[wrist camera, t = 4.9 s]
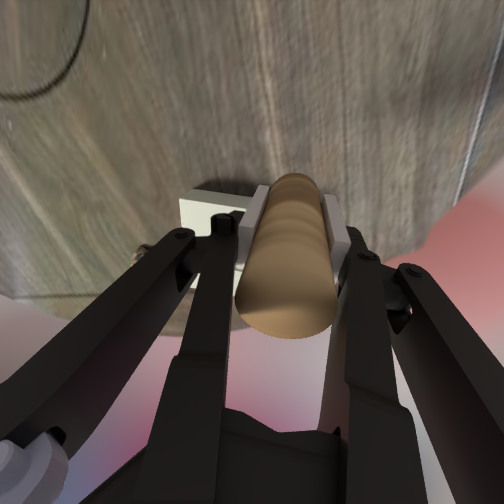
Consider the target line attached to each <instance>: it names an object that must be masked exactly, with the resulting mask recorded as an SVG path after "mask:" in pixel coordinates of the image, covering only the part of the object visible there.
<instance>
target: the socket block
mask: <svg viewBox="0 0 504 504" xmlns="http://www.w3.org/2000/svg"><path fill="white" fill-rule="evenodd" d="M252 198H253V197H246V196H239V195H233V194H226V193H219V192H212V191H205V190H199V189H191V190H190V191H189V192H187V193H186V194H185V195H183V196H182V197H181V198H179V203H180V213H181V223H182V227H184V228H189V229H192V230H194V231H195V236H209V235H210V234H211V219H210V218H211V216H212V215H214V214H218V213H228V214H229V213H230V212H232V211H234V210H238V211H245V212H246V210H247V208H248V206H249V204H250V202H251V200H252ZM236 266H237V262H236V265H235V274H234V288H233V296H235V291H236V288H237V285H238V283H239V280H240V277H241V274H242V271H243V269H238V268H236ZM199 275H200V273H198V276H197V277H196V279H195V280H194V282H193V283H192V285H191V286H190V287H191V288H196V287H197V283H198V279H199Z"/></svg>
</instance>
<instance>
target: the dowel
mask: <svg viewBox="0 0 504 504" xmlns="http://www.w3.org/2000/svg"><path fill="white" fill-rule="evenodd" d="M235 305H236V308H237V311H238V312H239V314H240V316H241V317H242V318H243V319H244V320H245V321H246V322H247V323H248V324H249V325H250V326H252V327H253V328H255V329H256V330H258V331H260V332H262V333H264V334H267V335H270V336H273V337H278V338H284V339H301V338H306V337H310V336H314V335H316V334H318V333H320V332H322V331H324V330H325V329H327V328H328V327H329V326H330V325H331V324H332V323H333V321H334V320H335V318H336V316H337V313H338V308H339V306H338V298H337V292H336V286H335V281H334V275H333V269H332V264H331V258H330V253H329V247H328V241H327V236H326V230H325V224H324V219H323V213H322V207H321V202H320V196H319V191H318V188H317V185H316V184H315V182H314V181H313V180H312V179H311V178H309V177H308V176H306V175H304V174H300V173H290V174H287V175H284V176H282V177H281V178H279V179H278V180H277V181H276V182H275V183H274V185H273V186H272V188H271V191H270V194H269V197H268V199H267V202H266V205H265V208H264V211H263V214H262V217H261V220H260V222H259V225H258V228H257V231H256V234H255V237H254V240H253V242H252V245H251V248H250V251H249V254H248V257H247V260H246V262H245V265H244V268H243V271H242V274H241V277H240V280H239V283H238V285H237V288H236V291H235Z"/></svg>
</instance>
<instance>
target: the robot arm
mask: <svg viewBox="0 0 504 504" xmlns="http://www.w3.org/2000/svg"><path fill="white" fill-rule="evenodd" d="M268 193H269V186H264V185H259V186H258V188H257V190H256V192H255V194H254V196H253V198H252V200H251V202H250V204H249V206H248V208H247V210H246V212H245V211H238V210H234V211H232V212H230V213H229V214H228V213H218V214H214V215H212V216H211V218H210V219H211V234H210V235H209V236H195V231H194V230H192V229H189V228H184V227H181V228H176V229H173V230H172V231H170V232H169V233H168V234H167V235H166V236H164V237H163V238H162V239H161V240H160V241H159V242H158V243H157V244H156V245H155V246H153V247H152V248H151V249H150V250H149V251H148V252H147V253H146V254H145V255H144V256H142V257H141V258H140V259H139V260H138V261H137V262H136V263H135V264H134V265H133V266H131V267H130V268H129V269H128V270H127V271H126V272H125V273H124V274H123V275H122V276H120V277H119V278H118V279H117V280H116V281H115V282H114V283H113V284H112V285H111V286H109V287H108V288H107V289H106V290H105V291H104V292H103V293H102V294H101V295H100V296H99V297H97V298H96V299H95V300H94V301H93V302H92V303H91V304H90V305H89V306H88V307H86V308H85V309H84V310H83V311H82V312H81V313H80V314H79V315H78V316H77V317H75V318H74V319H73V320H72V321H71V322H70V323H69V324H68V325H67V326H66V327H64V328H63V329H62V330H61V331H60V332H59V333H58V334H57V335H56V336H55V337H53V338H52V339H51V340H50V341H49V342H48V343H47V344H46V345H45V346H44V347H42V348H41V349H40V350H39V351H38V352H37V353H36V354H35V355H34V356H33V357H32V358H30V359H29V360H28V361H27V362H26V363H25V364H24V365H23V366H22V367H21V368H20V369H18V370H17V371H16V372H15V373H14V374H13V375H12V376H11V377H10V378H9V379H7V380H6V381H4V382H3V383H1V384H0V504H52V503H53V502H54V501H55V500H56V499H57V498H58V497H59V495H60V493H61V491H62V489H63V486H64V481H65V479H66V476H67V472H68V461H69V460H70V459H71V458H72V457H73V456H74V455H75V453H76V452H77V451H78V450H79V449H80V447H81V446H82V445H83V444H84V443H85V441H86V440H87V439H88V438H89V436H90V435H91V434H92V433H93V431H94V430H95V429H96V427H97V426H98V424H99V423H100V422H101V420H102V419H103V418H104V416H105V415H106V413H107V412H108V410H109V409H110V407H111V406H112V404H113V403H114V401H115V400H116V398H117V397H118V395H119V394H120V392H121V391H122V389H123V387H124V386H125V384H126V383H127V381H128V380H129V378H130V377H131V375H132V374H133V372H134V371H135V369H136V368H137V366H138V365H139V363H140V362H141V360H142V359H143V357H144V356H145V354H146V353H147V351H148V350H149V348H150V347H151V345H152V344H153V342H154V341H155V339H156V338H157V336H158V335H159V333H160V332H161V330H162V329H163V327H164V326H165V324H166V323H167V321H168V320H169V318H170V317H171V315H172V314H173V312H174V311H175V309H176V308H177V306H178V305H179V303H180V302H181V300H182V299H183V297H184V296H185V294H186V293H187V291H188V289H189V288H190V286H191V285H192V283H193V282H194V280H195V279H196V277H197V276H198V273H200V275H199V279H198V283H197V287H196V290H195V294H194V298H193V302H192V306H191V309H190V313H189V317H188V321H187V324H186V328H185V332H184V336H183V340H182V344H181V347H180V351H179V353H178V355H176V356H174V357H173V359H172V361H171V364H170V367H169V370H168V374H167V377H166V381H165V384H164V388H163V391H162V395H161V398H160V402H159V405H158V409H157V412H156V416H155V419H154V423H153V426H152V430H151V433H150V437H149V440H148V444H147V445H146V446H145V447H144V448H143V449H142V450H141V451H139V452H138V453H137V454H136V455H135V456H134V457H132V458H131V459H130V460H129V461H128V462H127V463H125V464H124V465H123V466H122V467H121V468H119V469H118V470H117V471H116V472H115V473H114V474H112V476H110V477H109V478H108V479H107V480H105V481H104V482H103V483H102V484H101V485H100V486H98V487H97V488H96V489H95V490H94V491H93V492H91V493H90V494H89V495H88V496H87V497H86V498H84V499H83V500H82V501H81V502H80V503H79V504H428V500H427V494H426V488H425V482H424V477H423V471H422V465H421V459H420V453H419V447H418V442H417V435H416V430H415V424H414V421H413V417H412V414H411V413H410V411H409V410H408V409H407V408H405V407H403V406H401V404H400V403H399V399H398V394H397V385H396V377H395V370H394V362H393V354H392V348H393V350H394V352H395V355H396V357H397V360H398V362H399V365H400V367H401V370H402V372H403V375H404V377H405V379H406V382H407V384H408V387H409V389H410V392H411V394H412V397H413V399H414V402H415V404H416V406H417V409H418V411H419V414H420V416H421V419H422V421H423V424H424V426H425V428H426V431H427V434H428V436H429V438H430V441H431V443H432V446H433V448H434V451H435V453H436V455H437V458H438V461H439V463H440V465H441V468H442V470H443V473H444V475H445V478H446V480H447V482H448V485H449V487H450V490H451V492H452V495H453V497H454V500H455V502H456V504H504V367H503V366H502V365H501V363H499V361H498V360H497V358H496V357H495V356H494V355H493V354H492V352H491V351H490V349H489V348H488V347H487V346H486V344H485V343H484V342H483V341H482V339H481V338H480V337H479V336H478V334H477V333H476V332H475V331H474V329H473V328H472V327H471V326H470V324H469V323H468V322H467V321H466V319H465V318H464V317H463V316H462V314H461V313H460V312H459V310H458V309H457V308H456V307H455V305H454V304H453V303H452V301H451V300H450V299H449V298H448V296H447V295H446V294H445V293H444V291H443V290H442V289H441V288H440V286H439V285H438V284H437V282H436V281H435V280H434V279H433V277H432V276H431V275H430V274H429V273H428V272H427V271H426V270H424V269H423V268H422V267H420V266H417V265H415V264H410V263H402V264H400V265H399V267H398V268H397V269H394V268H391V267H388V266H386V265H383V264H381V262H380V258H379V256H378V255H376V254H375V253H373V252H372V251H369V250H368V248H367V246H366V244H365V241H364V239H363V237H362V234H361V232H360V231H359V230H358V229H356V228H355V227H349V226H345V223H344V220H343V217H342V214H341V212H340V209H339V206H338V203H337V200H336V197H335V195H330V194H324V196H323V200H322V203H321V207H322V213H323V219H324V224H325V230H326V236H327V241H328V247H329V253H330V258H331V264H332V269H333V275H334V281H335V284H336V281H337V279H338V281H339V285H338V288H337V290H336V292H337V298H338V306H339V308H338V313H337V316H336V318H335V320H334V321H333V323H332V327H331V335H330V343H329V350H328V359H327V366H326V373H325V382H324V389H323V397H322V405H321V412H320V419H319V424H318V428H317V430H310V431H298V432H297V431H296V432H276V431H274V430H273V429H271V428H269V427H267V426H266V425H264V424H262V423H261V422H259V421H257V420H256V419H254V418H252V417H251V416H249V415H247V414H245V413H244V412H241V411H236V410H233V409H229V408H225V401H226V385H227V372H228V358H229V344H230V330H231V316H232V302H233V288H234V274H235V265H236V262H237V266H236V268H238V269H243V268H244V265H245V262H246V260H247V257H248V254H249V251H250V248H251V245H252V242H253V240H254V237H255V234H256V231H257V228H258V225H259V222H260V220H261V217H262V214H263V211H264V208H265V205H266V202H267V199H268ZM411 307H412V314H411V312H410V309H411ZM391 345H392V347H391Z"/></svg>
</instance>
